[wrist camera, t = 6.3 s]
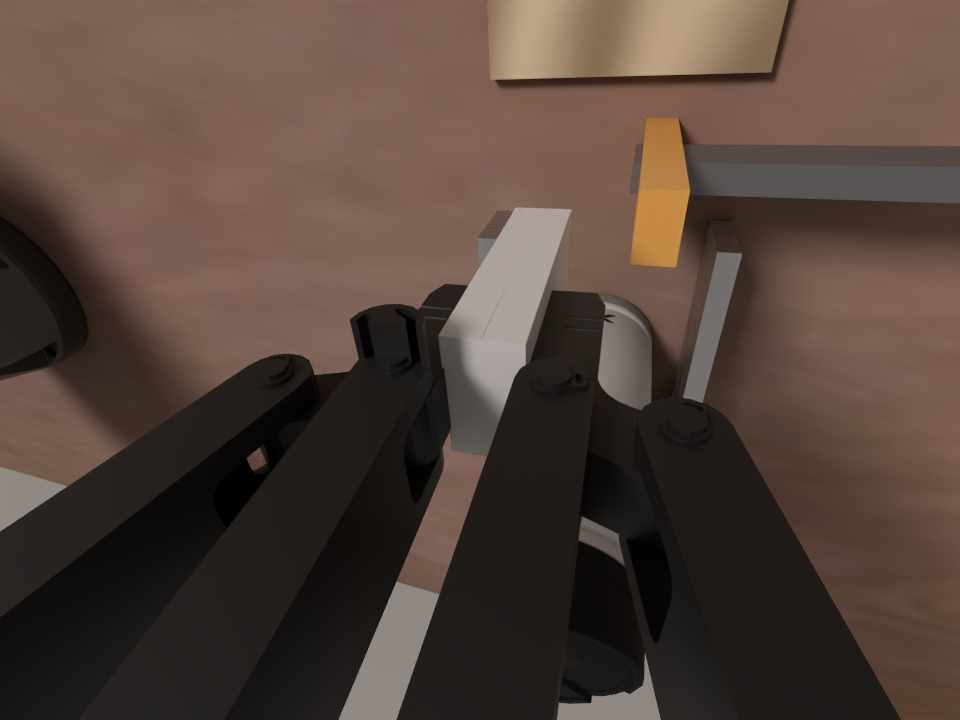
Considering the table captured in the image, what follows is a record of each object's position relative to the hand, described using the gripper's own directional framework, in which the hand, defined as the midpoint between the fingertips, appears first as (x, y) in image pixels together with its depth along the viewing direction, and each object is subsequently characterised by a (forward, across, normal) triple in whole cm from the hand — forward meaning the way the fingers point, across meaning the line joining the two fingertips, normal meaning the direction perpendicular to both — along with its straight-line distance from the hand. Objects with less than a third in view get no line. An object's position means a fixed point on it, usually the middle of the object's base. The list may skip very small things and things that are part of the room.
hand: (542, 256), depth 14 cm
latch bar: (+13, +9, 0) cm, 16 cm away
